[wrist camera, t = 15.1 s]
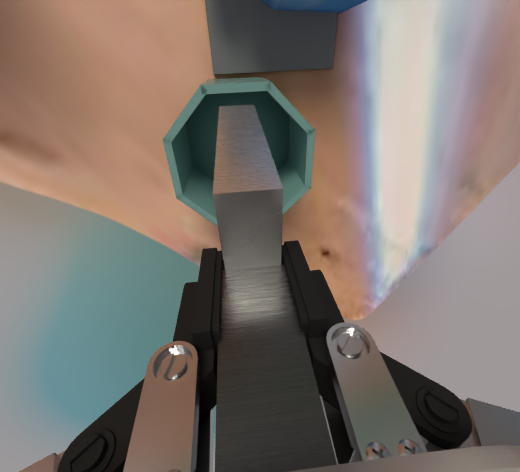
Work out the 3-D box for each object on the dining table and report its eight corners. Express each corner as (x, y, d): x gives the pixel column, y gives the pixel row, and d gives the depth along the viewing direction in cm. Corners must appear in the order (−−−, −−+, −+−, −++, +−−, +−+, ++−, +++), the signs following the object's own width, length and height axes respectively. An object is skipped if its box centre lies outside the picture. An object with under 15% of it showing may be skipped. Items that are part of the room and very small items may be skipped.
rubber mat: (343, -60, 22) (345, -62, 21) (331, 68, 27) (333, 68, 26) (198, -57, 21) (198, -59, 21) (214, 74, 26) (213, 74, 26)
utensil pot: (294, 74, 27) (318, 78, 19) (291, 186, 33) (308, 221, 26) (173, 80, 26) (149, 87, 19) (194, 193, 33) (184, 232, 25)
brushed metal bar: (257, 104, 15) (607, 993, 1) (261, 227, 21) (333, 634, 7) (215, 106, 15) (93, 1145, 1) (231, 229, 21) (243, 649, 7)
